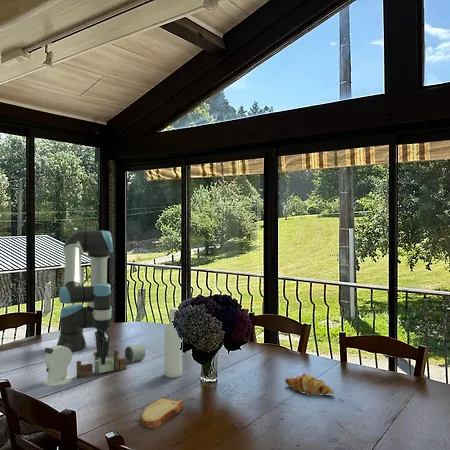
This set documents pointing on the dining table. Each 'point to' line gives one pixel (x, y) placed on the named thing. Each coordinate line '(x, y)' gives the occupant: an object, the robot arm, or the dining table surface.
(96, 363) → the gate
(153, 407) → the slice of bread
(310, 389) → the croissant
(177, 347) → the bottle
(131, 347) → the ceramic mug
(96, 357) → the post
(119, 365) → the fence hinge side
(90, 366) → the fence far side
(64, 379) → the cream upright rounded piece
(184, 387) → the dining table surface
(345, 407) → the dining table surface
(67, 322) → the robot arm
